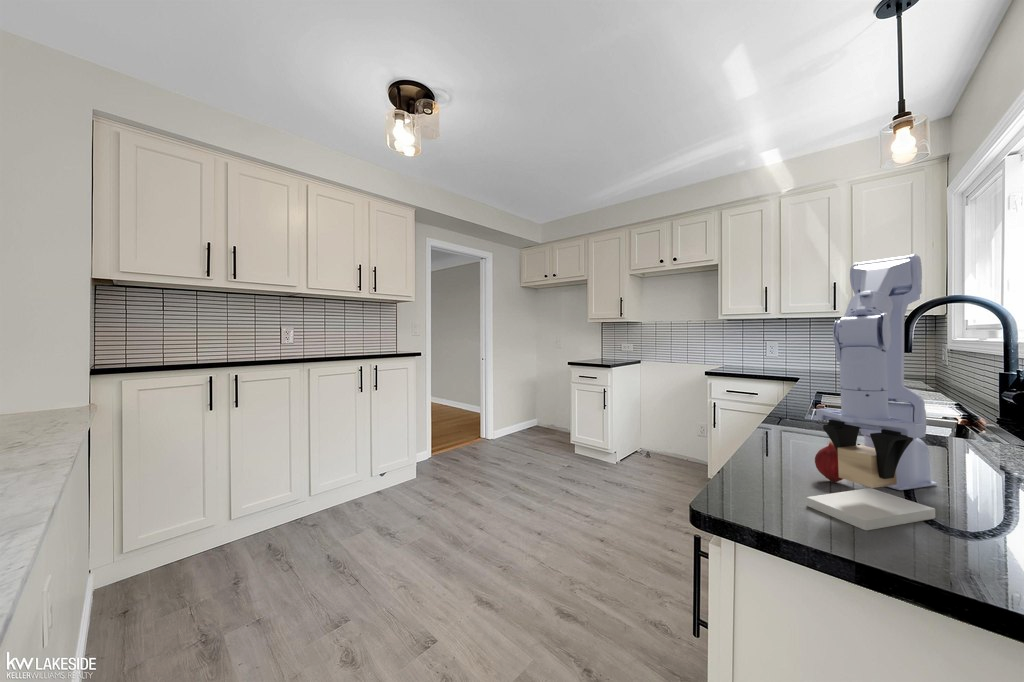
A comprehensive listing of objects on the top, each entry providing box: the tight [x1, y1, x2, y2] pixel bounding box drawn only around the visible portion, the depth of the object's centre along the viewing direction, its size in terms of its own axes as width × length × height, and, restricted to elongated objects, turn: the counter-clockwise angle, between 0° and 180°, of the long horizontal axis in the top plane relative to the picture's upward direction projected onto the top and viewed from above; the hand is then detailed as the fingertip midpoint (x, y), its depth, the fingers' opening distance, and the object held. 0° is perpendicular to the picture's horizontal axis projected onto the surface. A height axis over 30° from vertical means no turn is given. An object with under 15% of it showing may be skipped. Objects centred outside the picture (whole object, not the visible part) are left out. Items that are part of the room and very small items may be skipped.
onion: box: [814, 440, 844, 483], centre depth 76 cm, size 6×6×8 cm
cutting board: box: [806, 487, 936, 531], centre depth 63 cm, size 14×9×2 cm, turn 102°
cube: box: [838, 444, 897, 489], centre depth 63 cm, size 5×5×5 cm
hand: (866, 472), depth 63 cm, fingers closed on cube, 5 cm apart
